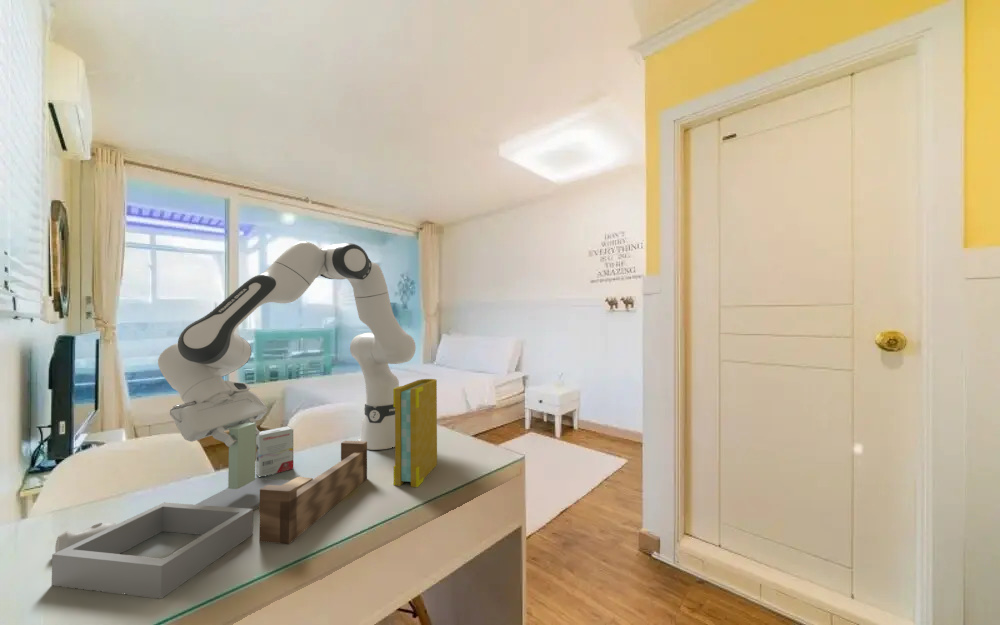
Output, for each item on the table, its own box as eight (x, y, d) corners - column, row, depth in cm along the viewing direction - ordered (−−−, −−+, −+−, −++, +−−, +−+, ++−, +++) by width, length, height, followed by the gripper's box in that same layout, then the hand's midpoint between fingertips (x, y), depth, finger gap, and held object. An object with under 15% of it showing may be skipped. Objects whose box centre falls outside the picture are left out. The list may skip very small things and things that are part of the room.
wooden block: (301, 489, 92) (301, 473, 92) (317, 491, 91) (317, 475, 91) (259, 513, 81) (259, 495, 81) (276, 516, 79) (276, 498, 79)
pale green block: (246, 479, 89) (247, 422, 90) (255, 479, 89) (255, 422, 89) (228, 488, 84) (229, 428, 85) (237, 489, 84) (238, 428, 84)
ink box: (289, 464, 108) (289, 425, 108) (293, 469, 104) (294, 428, 105) (255, 473, 102) (255, 431, 102) (259, 478, 98) (259, 435, 99)
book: (417, 487, 92) (417, 389, 93) (393, 485, 93) (393, 388, 94) (441, 461, 108) (440, 379, 109) (420, 460, 110) (420, 378, 110)
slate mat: (248, 481, 96) (248, 477, 96) (295, 484, 94) (295, 480, 94) (179, 517, 79) (179, 512, 79) (235, 521, 77) (235, 517, 77)
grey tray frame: (163, 526, 75) (164, 502, 75) (252, 534, 72) (252, 509, 72) (51, 585, 58) (52, 554, 58) (160, 598, 55) (161, 565, 55)
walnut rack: (345, 477, 98) (345, 440, 98) (367, 478, 97) (367, 441, 98) (259, 541, 69) (259, 489, 70) (289, 544, 69) (289, 491, 69)
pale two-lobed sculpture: (118, 540, 73) (117, 542, 69) (56, 557, 67) (51, 561, 64) (119, 517, 74) (118, 518, 70) (58, 532, 68) (54, 534, 65)
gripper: (174, 397, 78) (212, 444, 76) (252, 382, 98) (284, 419, 96) (156, 417, 78) (194, 465, 77) (237, 398, 99) (269, 435, 97)
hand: (245, 439), depth 87 cm, fingers closed on pale green block, 5 cm apart
